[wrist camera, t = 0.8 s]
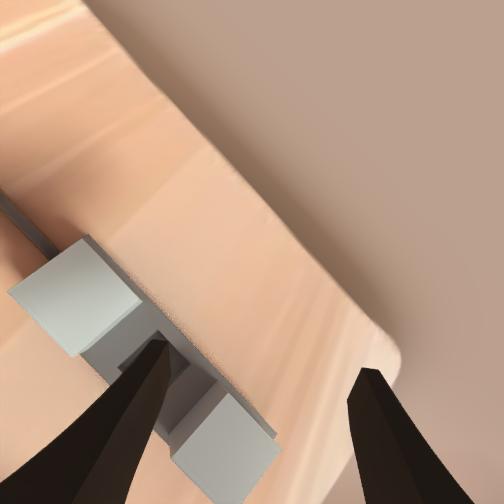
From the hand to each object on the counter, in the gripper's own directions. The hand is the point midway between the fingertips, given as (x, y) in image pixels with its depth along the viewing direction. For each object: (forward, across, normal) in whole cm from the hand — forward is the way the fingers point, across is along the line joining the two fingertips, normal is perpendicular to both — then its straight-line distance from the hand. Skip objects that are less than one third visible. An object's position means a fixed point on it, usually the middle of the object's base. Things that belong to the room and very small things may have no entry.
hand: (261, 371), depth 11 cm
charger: (+10, +13, +8) cm, 18 cm away
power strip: (+10, +12, +10) cm, 18 cm away
